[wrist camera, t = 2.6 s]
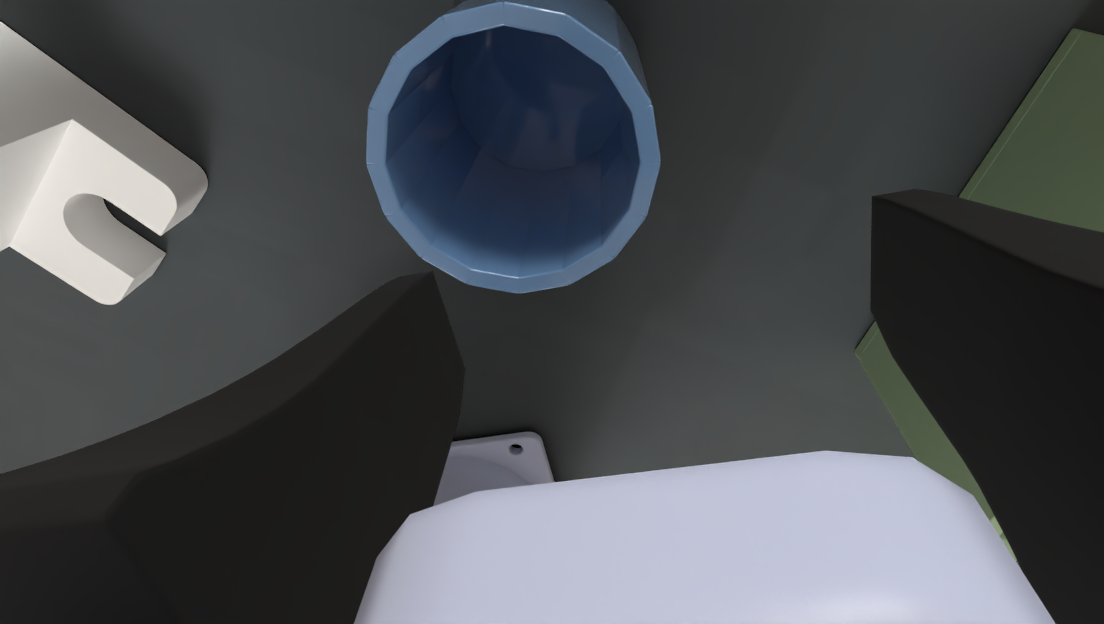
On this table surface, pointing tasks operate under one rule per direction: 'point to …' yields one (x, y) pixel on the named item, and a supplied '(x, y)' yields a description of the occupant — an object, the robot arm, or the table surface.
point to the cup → (516, 142)
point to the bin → (1023, 187)
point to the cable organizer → (83, 177)
